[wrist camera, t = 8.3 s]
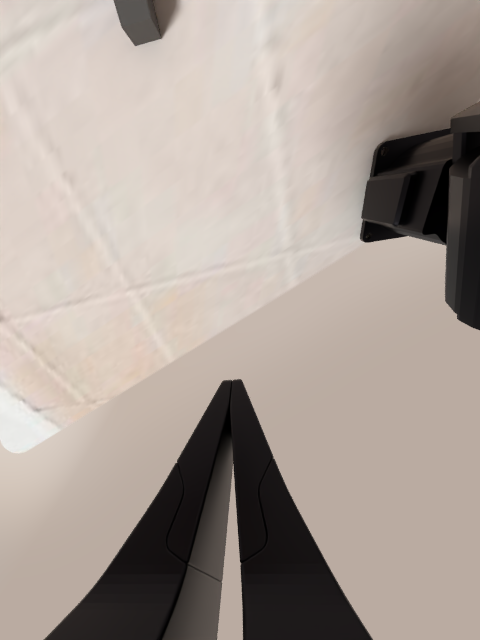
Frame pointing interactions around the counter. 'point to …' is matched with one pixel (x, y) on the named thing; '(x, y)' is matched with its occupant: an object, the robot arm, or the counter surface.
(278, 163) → the counter surface
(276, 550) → the robot arm
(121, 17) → the strip
